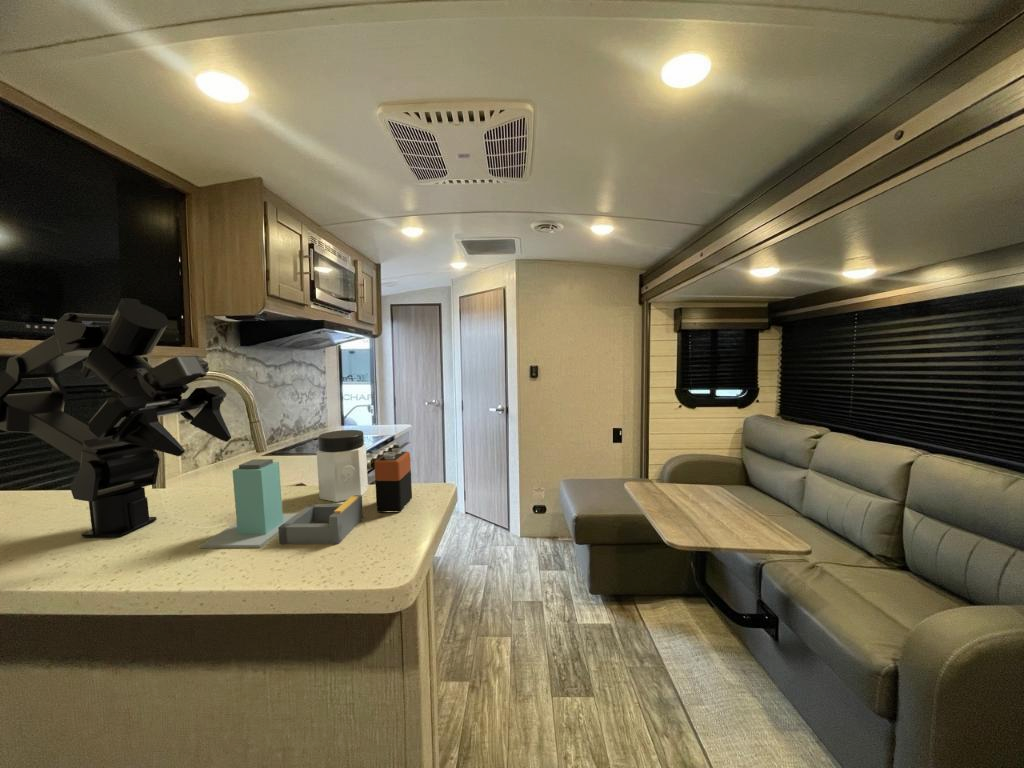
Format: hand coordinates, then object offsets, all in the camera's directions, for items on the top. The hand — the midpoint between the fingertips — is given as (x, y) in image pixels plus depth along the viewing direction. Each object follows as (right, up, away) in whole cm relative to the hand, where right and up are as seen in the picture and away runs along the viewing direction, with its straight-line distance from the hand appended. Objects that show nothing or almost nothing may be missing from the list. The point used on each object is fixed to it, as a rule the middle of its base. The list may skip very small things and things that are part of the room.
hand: (207, 446), depth 63 cm
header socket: (+18, -13, +1) cm, 22 cm away
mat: (+7, -13, +1) cm, 15 cm away
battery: (+26, -12, +10) cm, 31 cm away
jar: (+14, -12, +17) cm, 25 cm away
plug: (+8, -13, +1) cm, 15 cm away
